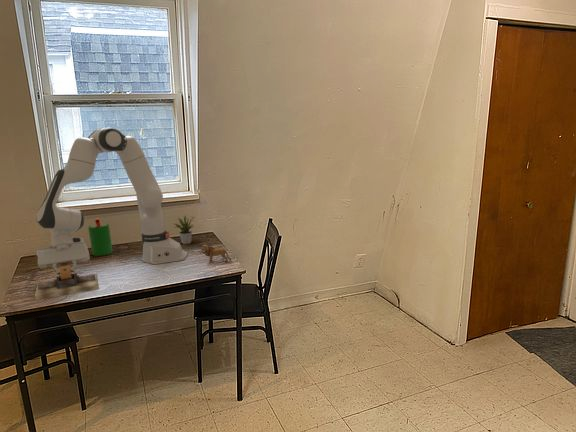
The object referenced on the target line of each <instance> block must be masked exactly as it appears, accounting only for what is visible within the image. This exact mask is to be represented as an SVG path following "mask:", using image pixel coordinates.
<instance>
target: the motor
mask: <svg viewBox="0 0 576 432" xmlns="http://www.w3.org/2000/svg"><path fill="white" fill-rule="evenodd" d="M87 227H88V233H89V241H90V246H91V254H92V256H94V257H98V256H99V257H100V256H107V255H110V254H112V253H113V244H112V237H111V231H110V224H109V223H106V224H105V225H101V221H100V218H99V217H98V218H97V217H96V218H95V226H94V227H93V226H92V225H91V224H89V225H88V226H87Z"/></svg>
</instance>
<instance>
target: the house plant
mask: <svg viewBox="0 0 576 432" xmlns="http://www.w3.org/2000/svg"><path fill="white" fill-rule="evenodd" d="M195 217H196V215H194V216H193V217H191V216H189V217H188V218H187V215H186V214H185V215H184V216H183V218H181V217H175V219H174V220H175V221H176V222H177V223H175V222H172V224H173V225H175V226H174V227H173V229H174V228H178V229H180V231H179V233H178V234H179V239H180V240H181V244H182V243H183V245H188V244H191V243H192V234H193V231H192V230H190V229H192V228H194V225H193V224H191V223H192V222H193V221H194V220H195V219H194V218H195ZM190 218H191V219H190ZM176 219H177V220H178V221H177V220H176ZM189 219H190V220H189Z"/></svg>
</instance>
